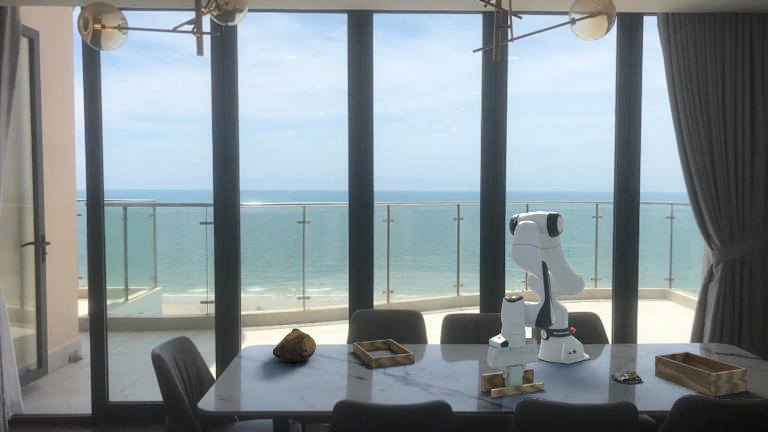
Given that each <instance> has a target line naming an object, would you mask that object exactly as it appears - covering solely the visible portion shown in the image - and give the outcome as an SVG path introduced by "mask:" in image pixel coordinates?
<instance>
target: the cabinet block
mask: <svg viewBox="0 0 768 432" xmlns="http://www.w3.org/2000/svg"><path fill="white" fill-rule="evenodd" d="M505 370H506V372H507V373H509V378H505V386H506V387H512V386H519V385H522V365H514V366H507V369H505Z"/></svg>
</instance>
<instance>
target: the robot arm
mask: <svg viewBox="0 0 768 432" xmlns="http://www.w3.org/2000/svg"><path fill="white" fill-rule="evenodd" d="M508 226H509V228H508V229H509V232H510V234H511V236H512V237H513V238H512V240H511V248H510V249H511V251H510V252H511V253H510V258H511V261H512V263H513V265H514V266H515V267H516V268H518V269H519V270H521V271H523V272H525V273H527V274H528V275H527V277H526V284H527V287H528V289H529V290H530V291H531V292H532V294H534V295H535V297H536V298H537V300H538V301H537V302H536V301H525V298H524V297H523V295H520V294H507V295H505V296H504V297H503V299H502V305H501V312H500V313H501V314H500V319H501V323H502V325H501V333H499V334H498V335H495V336H493V337H491V338H489V339H488V344H489V347H488V348H487V358H486V359H487V362H486V363H487V364H488V366H489V367H490V368H493V369H497V368H499V369H500V370H501V372H503V377H504V378H509V373H507V372H506V370H505V369H507V366H514V365H522V376H524V370H525V369H526V368H527V364H536V363H538V361H539V359H540V360H542V361H545V362H550V363H559V364H573V363H577V362H581V361H582V362H583V361H585V360H590V356H589V354H587V353H585V351H584V346H583V344H582V342H581V341H579V340H578V339H577V338H576V337H575V336H573V335H572V333H573V334H575V333H576V331H577V329H576V328H575V327H569V312H568V309H567V307H566V306H565V305H564V304H562V303H561V302H560V301H559V299H558V298H557V297H558V296H559V297H565V298H572V297H573V298H574V297H579V296H580V295H582V293H583V292H584V290H585V287H586V285H585V284H586V282H585V279H584V278H583V276H582V275H581V274H580V273H577V271H575V270H574V269H573V268H572V267H571V265H570V264H569V263H568V261H567V260H566V258H565V254H564V253H563V247H562V243H561V238H560V235H561V234H562V233H563V230H564V219H563V217H562V215H561V214H560V213H558V212H556V211H533V212H526V213H522V212H521V213H516V214H514V215H512V216H511V218H510V219H509V223H508ZM526 328H533V329H538V330H540V338H541V339H540V346H539V350H538V340H537V339H536V338H534V337H527V336H526V334H527V331H526Z"/></svg>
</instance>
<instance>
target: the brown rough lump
mask: <svg viewBox="0 0 768 432" xmlns="http://www.w3.org/2000/svg"><path fill="white" fill-rule="evenodd" d="M316 350H317V344H316V341H315V340H314V338H313V337H312V336H311V335H310V334H309V333H306V332H304V331H302V330H301V329H299V328H297V327H296V328H295V327H294V328H292V329H291V331H290V332H289V333H287V334H286V335H284V337H283V338H282V340H280V342H279V343H277V345H276V346H275V347H274V348H273V349H272V354H273V356H274V357H275V358H277V359H283V361H285V362H287V363H288V362H289V363H294V362H302V361H305V360H308V359H310V358H311V357H313V355H314V353H315V352H316Z"/></svg>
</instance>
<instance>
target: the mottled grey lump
mask: <svg viewBox="0 0 768 432" xmlns="http://www.w3.org/2000/svg"><path fill="white" fill-rule="evenodd" d="M610 378H611V380H612V381H613V382H614V383H617V384H620V385H621V384H622V385H629V386H630V385H631V386H632V385H639V384H641V383H642V378H643V377H642V375H641V376H640V375H639V374H638V373H637V372H636V371H635V370H631V369H628V370H625V372H614V373H611V376H610Z"/></svg>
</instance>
